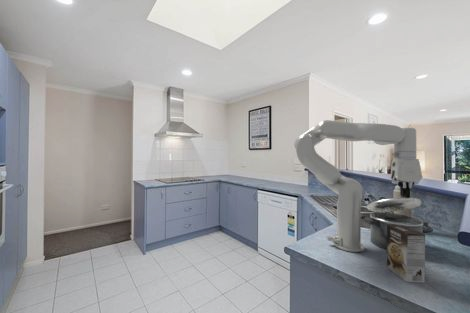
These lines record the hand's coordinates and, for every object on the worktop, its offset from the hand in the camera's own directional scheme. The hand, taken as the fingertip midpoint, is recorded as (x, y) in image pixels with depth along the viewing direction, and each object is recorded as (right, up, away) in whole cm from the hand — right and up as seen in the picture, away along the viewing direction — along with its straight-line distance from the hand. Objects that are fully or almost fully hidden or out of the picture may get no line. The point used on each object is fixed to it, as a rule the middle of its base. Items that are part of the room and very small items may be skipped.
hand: (405, 196), depth 88 cm
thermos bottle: (+22, -25, +28) cm, 43 cm away
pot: (0, -24, +6) cm, 25 cm away
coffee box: (-16, -24, -19) cm, 34 cm away
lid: (0, -6, +7) cm, 10 cm away
